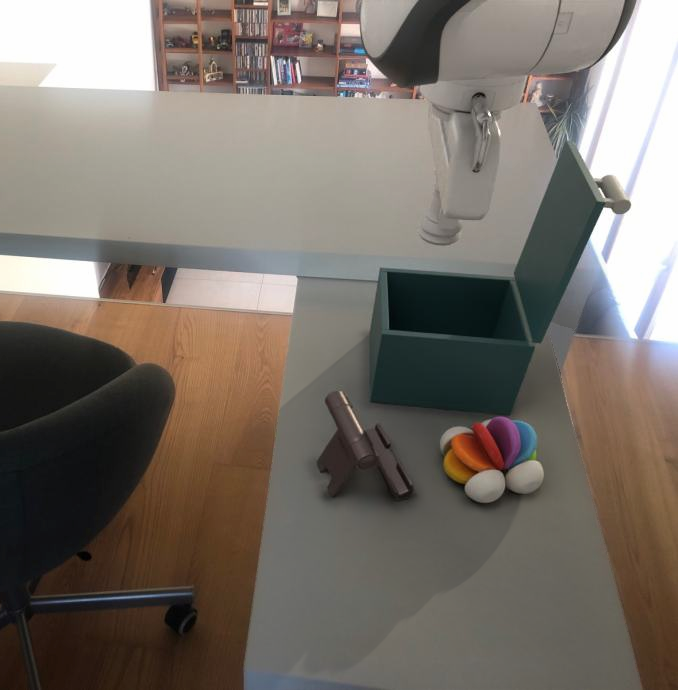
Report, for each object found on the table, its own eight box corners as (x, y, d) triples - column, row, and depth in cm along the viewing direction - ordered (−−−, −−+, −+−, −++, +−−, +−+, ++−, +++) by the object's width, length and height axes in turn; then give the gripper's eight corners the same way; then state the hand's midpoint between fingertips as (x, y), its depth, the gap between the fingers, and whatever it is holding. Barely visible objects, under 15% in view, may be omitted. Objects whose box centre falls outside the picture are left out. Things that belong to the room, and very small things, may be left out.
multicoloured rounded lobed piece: (423, 450, 74) (436, 403, 70) (505, 433, 76) (522, 385, 71) (463, 514, 68) (479, 467, 63) (550, 494, 70) (573, 446, 65)
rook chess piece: (411, 225, 74) (425, 154, 68) (454, 224, 74) (470, 153, 68) (421, 248, 70) (436, 175, 65) (465, 247, 70) (484, 174, 65)
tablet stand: (412, 499, 70) (427, 444, 64) (338, 515, 68) (347, 460, 63) (377, 435, 76) (388, 381, 71) (309, 449, 75) (315, 394, 70)
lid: (596, 201, 60) (654, 207, 60) (565, 139, 70) (615, 145, 69) (532, 342, 71) (581, 349, 71) (513, 273, 81) (555, 278, 80)
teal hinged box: (370, 402, 80) (381, 333, 73) (369, 333, 90) (379, 267, 83) (510, 415, 78) (535, 346, 71) (494, 343, 88) (515, 276, 81)
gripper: (532, 124, 53) (490, 273, 62) (494, 39, 68) (465, 169, 77) (447, 120, 54) (417, 268, 63) (429, 38, 69) (407, 166, 78)
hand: (443, 213), depth 70 cm, fingers closed on rook chess piece, 3 cm apart
